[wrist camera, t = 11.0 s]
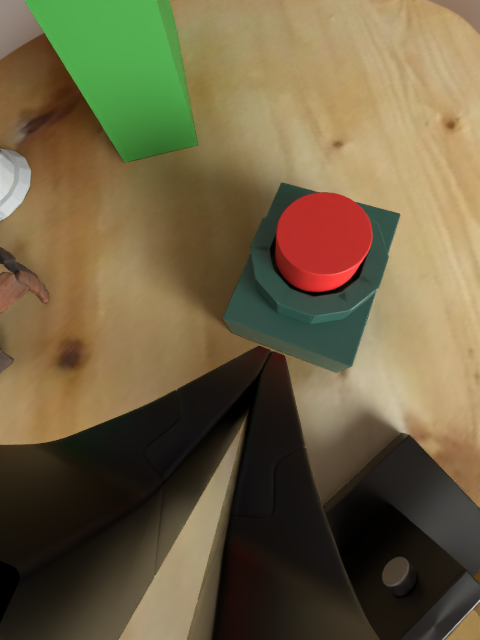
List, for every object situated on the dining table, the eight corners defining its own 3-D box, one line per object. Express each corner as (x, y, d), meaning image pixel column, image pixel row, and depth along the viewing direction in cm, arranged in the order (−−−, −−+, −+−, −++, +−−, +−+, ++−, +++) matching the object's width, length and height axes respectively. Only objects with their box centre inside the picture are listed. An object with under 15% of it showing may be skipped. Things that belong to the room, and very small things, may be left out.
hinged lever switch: (401, 432, 20) (489, 454, 12) (519, 557, 17) (729, 690, 9) (268, 557, 19) (266, 675, 11) (374, 709, 16) (473, 1008, 8)
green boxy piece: (336, 373, 21) (361, 363, 15) (230, 332, 23) (217, 309, 17) (378, 245, 23) (413, 195, 18) (279, 216, 25) (282, 162, 19)
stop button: (344, 304, 17) (356, 288, 14) (263, 277, 18) (262, 258, 15) (368, 232, 18) (384, 205, 15) (291, 210, 19) (294, 182, 16)
